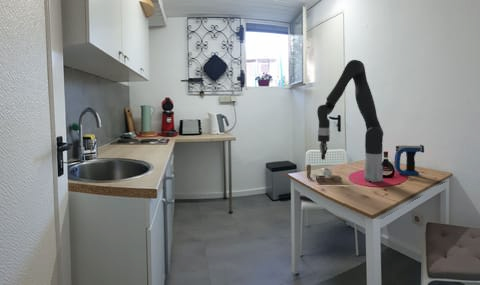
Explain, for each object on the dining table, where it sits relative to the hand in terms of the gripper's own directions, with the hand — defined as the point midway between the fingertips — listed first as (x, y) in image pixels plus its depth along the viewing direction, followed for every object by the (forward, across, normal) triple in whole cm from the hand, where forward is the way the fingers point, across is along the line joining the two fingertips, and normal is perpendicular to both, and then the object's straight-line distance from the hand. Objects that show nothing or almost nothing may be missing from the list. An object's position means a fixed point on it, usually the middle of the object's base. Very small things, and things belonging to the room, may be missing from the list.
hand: (323, 159), depth 183 cm
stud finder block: (+9, -9, 0) cm, 13 cm away
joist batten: (+10, -23, +2) cm, 25 cm away
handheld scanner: (+9, -4, -54) cm, 55 cm away
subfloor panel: (+10, -15, +2) cm, 18 cm away
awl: (+10, -12, +12) cm, 20 cm away
